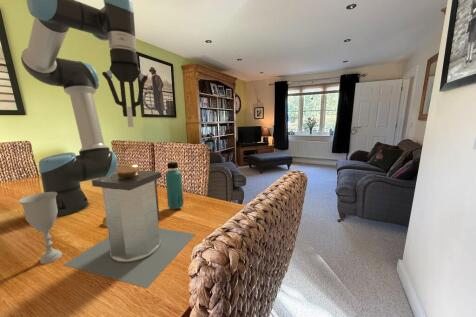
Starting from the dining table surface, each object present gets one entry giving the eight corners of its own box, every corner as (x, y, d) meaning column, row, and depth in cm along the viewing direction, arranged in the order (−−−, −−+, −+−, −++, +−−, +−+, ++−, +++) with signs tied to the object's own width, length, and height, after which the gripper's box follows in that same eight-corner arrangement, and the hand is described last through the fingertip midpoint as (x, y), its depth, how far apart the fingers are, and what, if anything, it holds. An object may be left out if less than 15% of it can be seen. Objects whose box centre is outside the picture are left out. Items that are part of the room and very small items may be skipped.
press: (98, 258, 54) (86, 181, 50) (142, 227, 69) (136, 166, 65) (138, 267, 50) (128, 185, 46) (175, 233, 65) (170, 169, 61)
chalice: (49, 251, 58) (37, 192, 54) (74, 250, 58) (64, 191, 55) (25, 270, 50) (9, 203, 47) (54, 268, 51) (40, 202, 48)
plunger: (109, 249, 55) (98, 168, 51) (135, 231, 64) (127, 161, 59) (137, 255, 52) (127, 170, 48) (160, 236, 61) (153, 162, 57)
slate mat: (63, 266, 52) (63, 264, 52) (131, 224, 72) (130, 223, 72) (147, 290, 44) (147, 288, 44) (195, 235, 65) (195, 234, 65)
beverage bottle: (179, 212, 81) (176, 164, 78) (164, 211, 83) (160, 163, 79) (186, 206, 88) (184, 161, 84) (172, 205, 89) (169, 160, 85)
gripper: (96, 43, 57) (106, 127, 62) (146, 50, 63) (152, 127, 68) (100, 51, 64) (109, 126, 68) (145, 56, 69) (151, 126, 74)
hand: (131, 126), depth 68 cm, fingers closed
